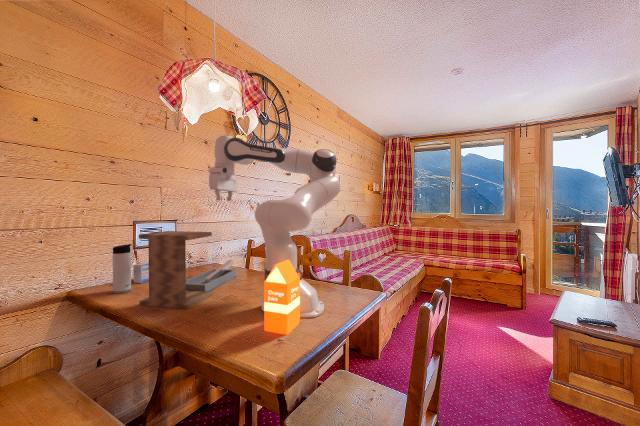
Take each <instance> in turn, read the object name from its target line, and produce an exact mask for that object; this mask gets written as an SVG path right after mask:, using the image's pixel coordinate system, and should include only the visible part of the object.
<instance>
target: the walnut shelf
mask: <svg viewBox="0 0 640 426" xmlns="http://www.w3.org/2000/svg"><path fill="white" fill-rule="evenodd" d="M211 236H213V233H212V231H184V230H183V231H182V230H181V231H176V230H165V231H157V232H150V233H148V232H147V233H142V234H141V233H140V234H138V239H139V240H143V239H144V240H148V262H149V281H148V297H146V298H144V299H141V300H139V302H138V303H139V306H143V307H144V306H145V307H157V308H159V307H160V308H171V309H183V310H185V309H186V310H190V309H192V308H193V307H194V306H197V305H198V304H200V303H202V302H204V301H205V300H207V299H208V297H209V298H211V297H212V296H213V291H210V292H206V291H189V290H186V280H187V279H186V278H187V277H186V276H187V275H186V274H187V270H186V268H187V267H186V265H187V263H186V260H187V259H186V256H187V255H186V254H187V253H186V246H187V245H186V244H187V243H186V241H191V240H196V239H201V238H206V237H207V238H208V237H211ZM201 301H202V302H201ZM196 304H197V305H196Z"/></svg>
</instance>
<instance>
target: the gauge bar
mask: <svg viewBox="0 0 640 426" xmlns="http://www.w3.org/2000/svg"><path fill="white" fill-rule="evenodd" d="M233 265H234V259H228V260H227V261H226V262H224V263H223V264H222V265H221V266H219V267H218V268H216V269H217V270H215V271H214V272H213V273H211V274H210V275H209V276H207V277H206V278H205V283H209V282H211V281H213V280H215V279H216V278H218V277H219V276H220V275H221V274H222V273H224V272H225V271H226V270H229V269H230V268H231V267H232V266H233Z"/></svg>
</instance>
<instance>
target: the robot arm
mask: <svg viewBox="0 0 640 426" xmlns="http://www.w3.org/2000/svg"><path fill="white" fill-rule="evenodd" d="M214 159H215V161H214V166H211V167H209V168H208V173H209V174H208V186H209V189H210V190H212V191H214V194H215V197H216V201H222V200H223V197H222V195H221V193H222V192H227V194H228V195H227V197H226V201H227V202H232V199H233V195H234V193H237V192H238V179H237V177H236V176H235V164H239V165H243V166H245V165H247V166H248V165H250V164H251V163H253V162H254V161H261V162H265V163H269V164H272V165H274V166H276V167H278V168H279V169H281V170H283V171H286V172H289V173H293V174H302V175H307V177H309V179H308V180H307V181H308V182H307V183H306V184H304V185H302V186H300V187H298V188H297V189H296V190H295V192H294V194H293V195H292V196H290V197H288V198H284V199H268V200H266V201H263V202H261V203H259V204H258V205H257V207H256V208H255V210H254V211H255V212H254V219H255V221H256V222H257V224H258V225H259V227H260V230H261V233H262V237H263V240H264V246H265V269H264V275H263V277H264V281H265V280H266V279H267V277H268V276H269V274H270V272H271V271H272V269H273V268H274V266H275V265H276V264H278V263H280V262H283V261H285V260H288V259H289V261H290V262H291V264H292V266H293V267H294V269H295V271H296V272H297V274H298V276H299V277H300V318H317V317H318V316H320V315H322V314H323V312H324V310H325V304H324V302H323V301H322V300H319V298H318V297H319V296H318V292H317V289H316V288H315V287H313V285H311V284H309V283H308V282H307V281H305V280H304V279H303V273H304V270H303V269H301V270H300V269H299V268H298V247H297V244H296V243H295V242H294V240H293V239H292V237H291V234H290V232H291V233H292V232H298V231H302V230H305V229H306V228H308V226H309V225H310V223H311V221H312V215H313V214H314V213H315V212H317V211H319V210H320V209H321V208H323V207H324V206H326V205H327V204H329V203H331V201H333V200H334V199H335V198H336V197H337V196H338V194H339V193H340V191H341V183H340V181H339V179H338V178H336V170H337V169H336V167H337V166H336V165H337V156H336V153H334V152H333V151H332V150H330V149H325V148H324V149H323V148H321V149H318V150H316V151H314V152H313V151H311V150H306V149H299V148H289V147H287V148H286V147H285V148H284V147H282V148H281V147H271V146H270V147H268V146H263V145H257V144H252V143H249V142H246V141H245V140H244V139H243V138H240V137H233V136H231V135H221V136H218V137H217V138H216V140H215V143H214ZM261 304H262V305H261V311H263V313H264V299H263V300H262V303H261Z"/></svg>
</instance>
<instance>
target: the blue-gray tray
mask: <svg viewBox="0 0 640 426" xmlns="http://www.w3.org/2000/svg"><path fill="white" fill-rule="evenodd" d="M217 269H218V268H212V269H210V270H208V271H205V272H202V273H200V274H198V275H197V274H196V275H195V276H192V277H190V278H187V279H186V290H189V291H206V292H213V291H214V290H216V289H218V288H219V287H221V286H223V285H225V284H226V283H228V282H230V281H232V280H234V279H236V278H237V270H236V269H227V270H226V271H225V272H224V273H222V274H221V275H220V276H219V277H218V278H216V279H215V280H213V281H211V282H209V283H205V278H206V277H207V276H209V275H210V274H211V273H213V272H214V271H215V270H217Z"/></svg>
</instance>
